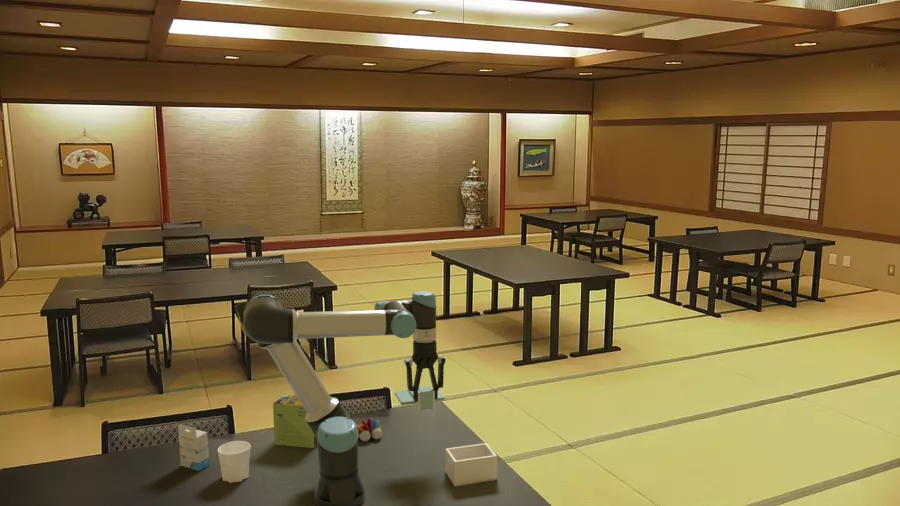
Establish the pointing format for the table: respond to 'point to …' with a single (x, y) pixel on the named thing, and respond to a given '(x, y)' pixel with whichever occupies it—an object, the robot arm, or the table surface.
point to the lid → (426, 397)
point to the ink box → (193, 448)
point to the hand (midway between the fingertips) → (425, 409)
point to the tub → (471, 464)
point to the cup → (234, 460)
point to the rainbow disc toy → (369, 430)
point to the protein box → (292, 423)
